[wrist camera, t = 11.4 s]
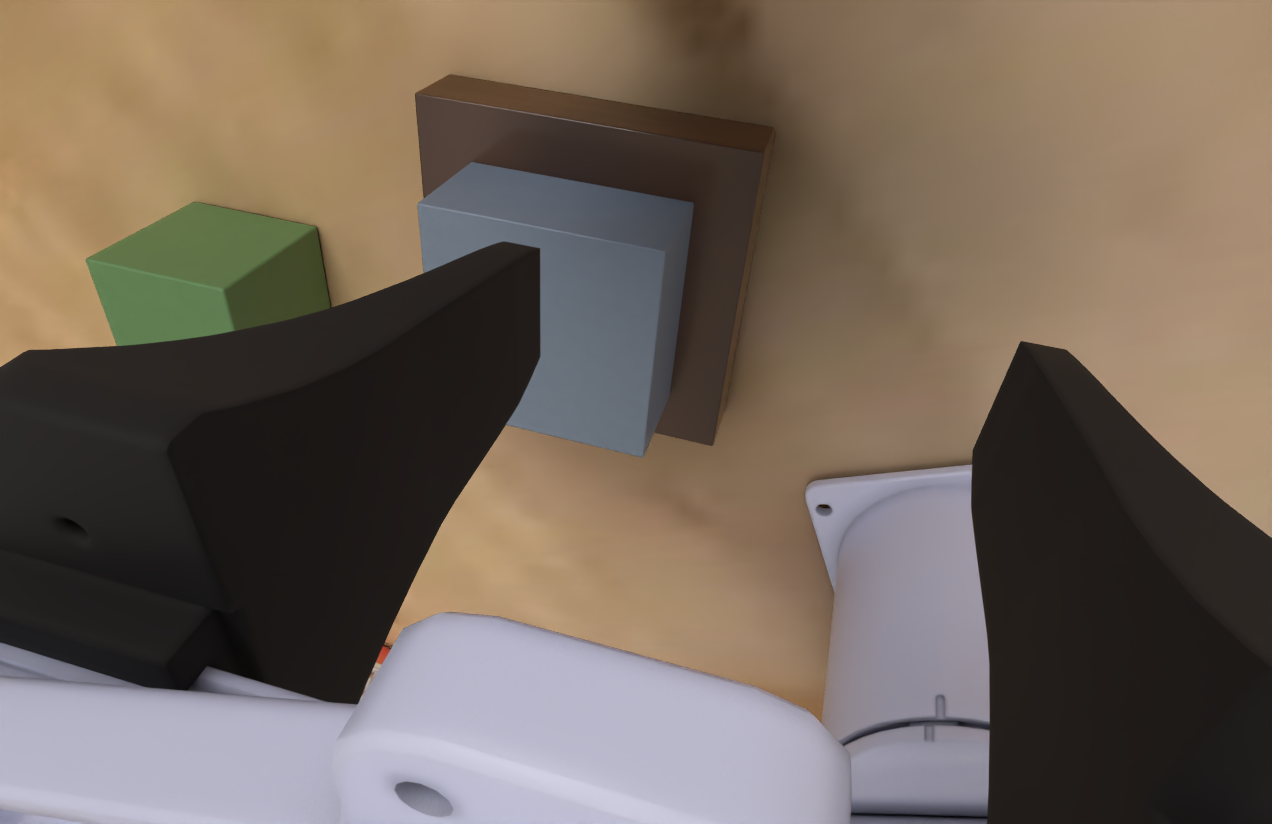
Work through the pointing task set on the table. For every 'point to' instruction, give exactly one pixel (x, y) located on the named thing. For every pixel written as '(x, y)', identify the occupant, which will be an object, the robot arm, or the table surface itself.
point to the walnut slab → (634, 161)
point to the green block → (208, 275)
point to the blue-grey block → (580, 293)
